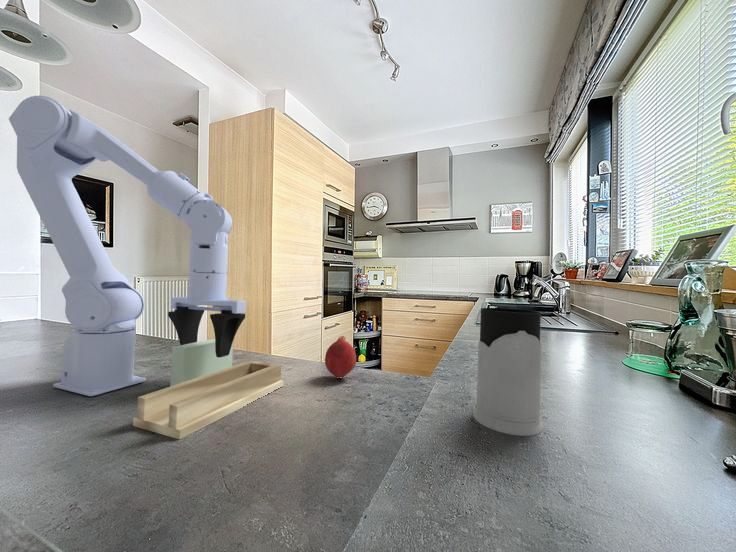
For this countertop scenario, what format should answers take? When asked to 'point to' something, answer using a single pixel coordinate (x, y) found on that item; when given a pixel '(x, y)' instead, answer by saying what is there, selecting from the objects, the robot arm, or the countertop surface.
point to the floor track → (205, 398)
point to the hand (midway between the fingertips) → (205, 353)
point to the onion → (340, 358)
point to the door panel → (196, 361)
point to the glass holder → (509, 371)
